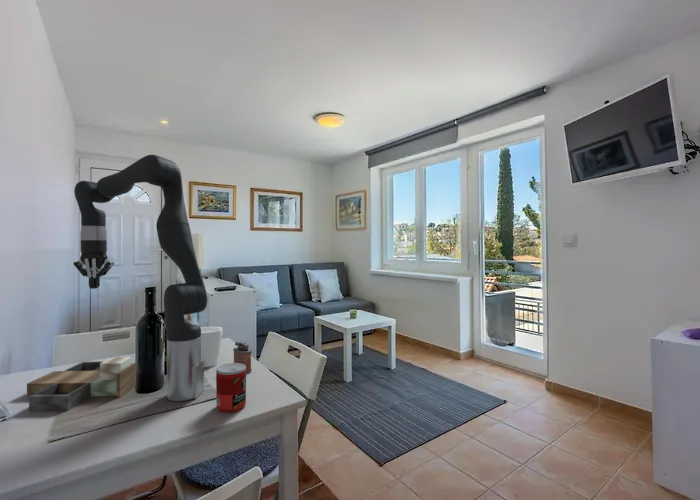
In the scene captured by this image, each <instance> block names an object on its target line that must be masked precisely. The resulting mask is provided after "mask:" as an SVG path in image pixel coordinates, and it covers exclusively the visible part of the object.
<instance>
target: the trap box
mask: <svg viewBox="0 0 700 500" xmlns="http://www.w3.org/2000/svg"><path fill="white" fill-rule="evenodd" d="M104 361H105V360H104ZM104 361H82V362H80V363H77V364H75V365H72V366H71V367H69V368H67V369H65V370H59V371H58V370H53V371H51V372H49V373H46V374H44V375H42V376H40V377H38V378H36V379H34V380H32V381H29V382H27V383H26V397H27V398H28V404H29V407H28V411H29V412H66V411H67V412H69V411H70V410H72V409H73V408H75V407H77V406H78V405H80V404H81V403H83V402H84V401H86V400H88V399H90V397H116V398H122V396H124V395H126V394H127V393H129V391H131V390H132V389H134V388H135V387H136V386H135V376H136V362H137V361H135V362H132V365H130V366H128V367H127V368H125V369H123V370H122V371H120V372H118V373H117V380H100V363H102V362H104Z"/></svg>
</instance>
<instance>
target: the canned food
mask: <svg viewBox="0 0 700 500" xmlns="http://www.w3.org/2000/svg"><path fill="white" fill-rule="evenodd" d="M215 373H216V374H215V377H216V378H215V380H216V381H215V383H216V386H215V388H216V389H215V390H216V392H215V394H216V397H215V399H216V403H215V404H216V409H217V410H218V411H219V412H222V413H228V414H229V413H230V414H231V413H235V412H239V411H242V410H243V408H245V406H246V403H247V373H246V366H245V365H244V364H241V363H234V362H229V363H224V364H222V365H219V366H217V367H216V372H215Z"/></svg>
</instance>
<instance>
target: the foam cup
mask: <svg viewBox="0 0 700 500" xmlns="http://www.w3.org/2000/svg"><path fill="white" fill-rule="evenodd" d="M200 328H201V360H204V368H210V367H215V366H217V365H218V364H219V362H220V361H219V359H220V353H221V345H222V336H223V327H221V326H205V327H200Z"/></svg>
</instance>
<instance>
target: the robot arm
mask: <svg viewBox="0 0 700 500" xmlns="http://www.w3.org/2000/svg"><path fill="white" fill-rule="evenodd" d="M182 179H183V177H182V172H181V168H180V167H179V165H178V164H177V163H176V162H175V161H173V160H170V159H168V158H165V157H163V156H160V155H156V154H147V155H145V156H143V157H141V158H139V159H138V160H136V161H134V162H133V163H132V164H130V165H128V166H127V167H125V168H123V169H122V170H120V171H118V172H116V173H113V174H109V175H107V176H103V177H101V178H100V179H98V181H97V182H95V181H89V180H80V181H78V182H77V183H76V185H75V186H74V191H73V192H74V196H75V200H76V203H77V206H78V209H79V212H80V220H81V221H80V226H81V227H80V234H79V236H80V237H79V238H80V240H79V241H80V246H79V247H80V253H81V255H80V256H79V260H78V261H74V262H73V266H74V267H75V268H76V269H77V270H78V272H79V273H80V274H81V275H82V276H83V277H87V278H88V287H89V289H94V290H95V289H98V288H99V287H100V285H101V284H100V282H101V281H100V280H101V277H103V276H106V275H107V274H108V273H109V272H110V270H111V269H112V267H113V266H114V265H115V262H114V261H112V260H110V259H108V257H109V256H107V252H108V242H107V239H108V236H107V227H106V225H107V222H106V221H107V220H106V218H107V217H106V212H105V211H104V210H102V209H99V208H96V207H95V205H94V203H98V204H105V203H106V204H107V203H109V202H110V201H112V200H113V199H114V198H115V197H118V196H122V195H124V194H127V193H129V192H131V190H132V189H133V188H134V186H135V184H139V183H140V184H141V183H148V184H150V185H152V186H155V187H160V188H161V190H162V192H163V199H164V204H163V207H162V209H161V211H160V214H159V215H158V218H157V219H156V224H155V225H156V226H155V228H156V233H157V238H158V241H159V242H158V243H159V245H160V247H161V249H162V251H163V252H164V253H165V254H166V256H168V257H169V258H170V259H171V261H172V262H173V263H174V264H175V265H176V266H177V268H178V269H179V270H180V272H181V275H182V277H183V279H184V280H183V281H184V283H175V284H170V285H168V286H167V287H166V288H165V290H164V294H163V310H164V326H165V333H166V399H167V400H169V401H172V402H183V401H189V400H194V399H197V398H199V396H200V395H201V394H202V393H203V392H204V390H205V389H204V388H205V387H204V384H205V382H204V381H205V379H204V378H205V377H204V374H205V373H204V371H205V369H204V368H205V367H204V360H201V328H202V327H200V326H199V325H197V324H193V323H188V322H186V321H185V315H191V314H198V313H201V312H204V310H205V309H206V308H207V304H208V294H207V293H208V292H207V291H206V286H205V282H204V279H203V277H202V276H203V275H202V274H201V271H200V267H199V264H198V260H197V256H196V251H195V247H194V244H193V236H192V231H191V228H190V224H189V219H188V215H187V214H188V213H187V209H186V203H185V197H184V189H183V180H182Z"/></svg>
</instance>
